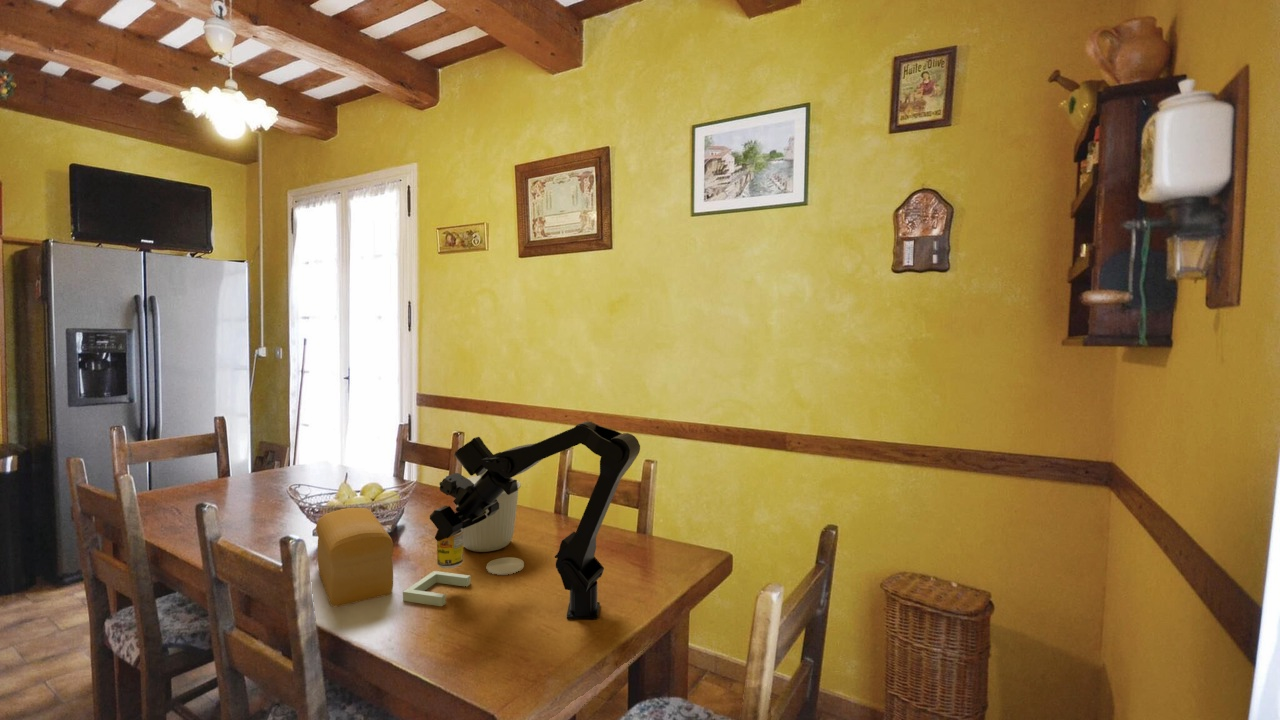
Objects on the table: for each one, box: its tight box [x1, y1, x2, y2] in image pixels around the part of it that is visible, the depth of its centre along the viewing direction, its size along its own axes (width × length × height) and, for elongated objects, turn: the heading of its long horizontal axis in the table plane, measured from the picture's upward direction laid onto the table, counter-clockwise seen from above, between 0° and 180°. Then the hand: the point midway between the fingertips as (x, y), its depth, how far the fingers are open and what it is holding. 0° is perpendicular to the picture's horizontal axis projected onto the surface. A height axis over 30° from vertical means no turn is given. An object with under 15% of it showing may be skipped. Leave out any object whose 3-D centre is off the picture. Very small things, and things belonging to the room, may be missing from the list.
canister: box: [455, 470, 522, 553], centre depth 162 cm, size 18×18×21 cm
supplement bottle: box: [436, 529, 464, 569], centre depth 135 cm, size 6×6×10 cm
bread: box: [315, 507, 394, 608], centre depth 139 cm, size 24×13×15 cm, turn 34°
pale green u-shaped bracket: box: [402, 570, 472, 607], centre depth 134 cm, size 10×12×2 cm
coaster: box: [486, 556, 525, 576], centre depth 148 cm, size 9×9×1 cm
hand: (444, 535), depth 136 cm, fingers closed on supplement bottle, 5 cm apart
